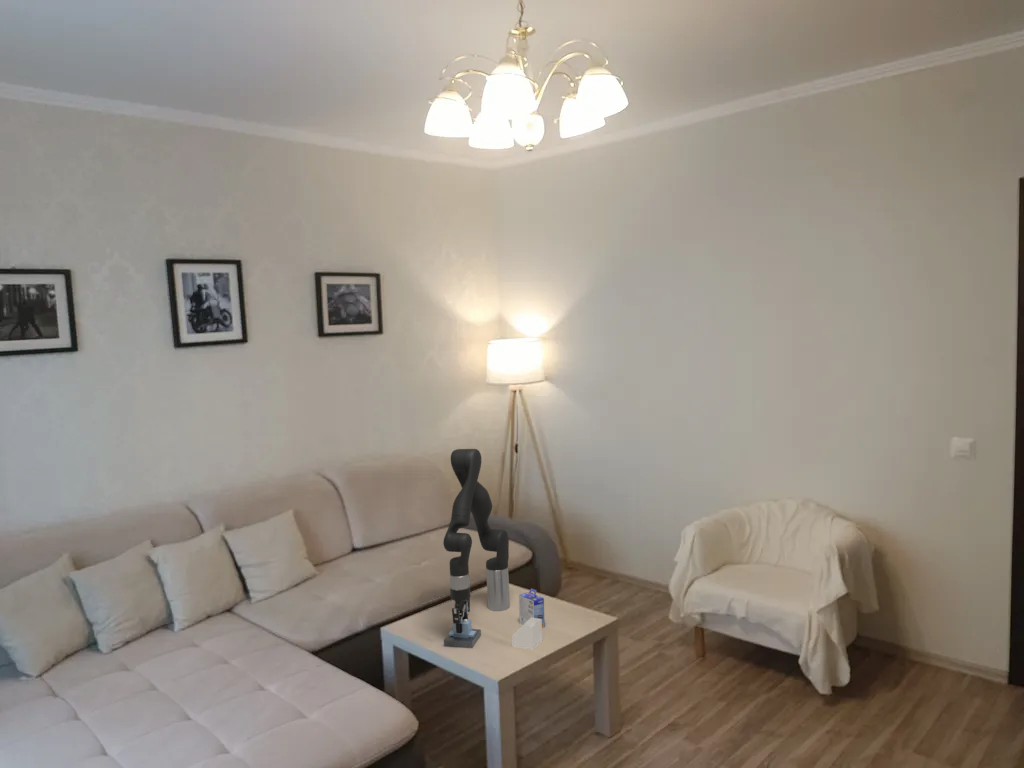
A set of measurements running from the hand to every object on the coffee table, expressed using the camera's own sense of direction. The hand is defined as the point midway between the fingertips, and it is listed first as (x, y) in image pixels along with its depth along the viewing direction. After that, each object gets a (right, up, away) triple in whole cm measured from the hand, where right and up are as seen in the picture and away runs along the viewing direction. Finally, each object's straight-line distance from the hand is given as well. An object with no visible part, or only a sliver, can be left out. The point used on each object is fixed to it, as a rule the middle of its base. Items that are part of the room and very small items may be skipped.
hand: (462, 629), depth 267 cm
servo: (0, -5, 0) cm, 5 cm away
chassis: (0, -5, 0) cm, 5 cm away
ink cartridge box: (+27, -3, +11) cm, 29 cm away
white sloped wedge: (+26, -4, -2) cm, 26 cm away
